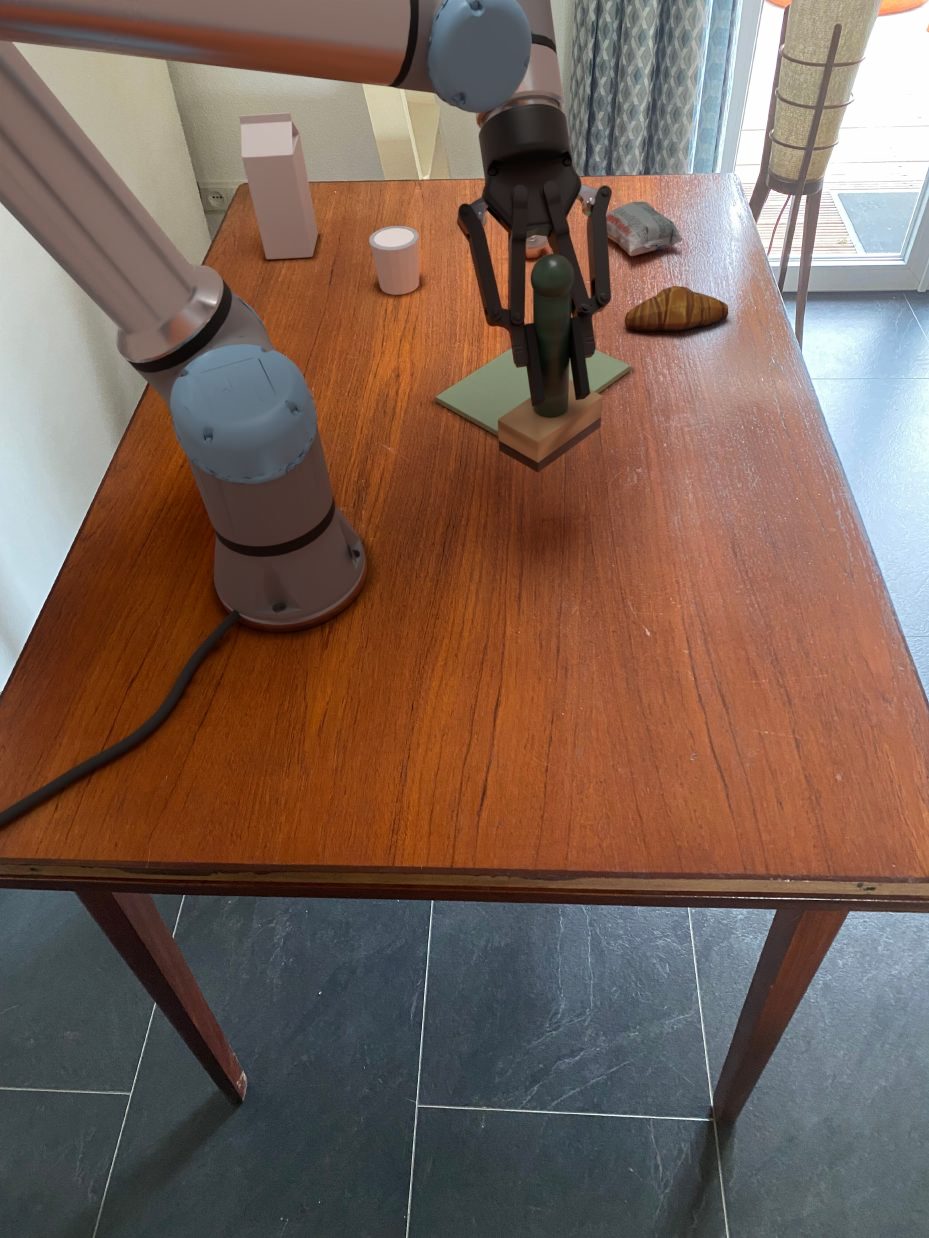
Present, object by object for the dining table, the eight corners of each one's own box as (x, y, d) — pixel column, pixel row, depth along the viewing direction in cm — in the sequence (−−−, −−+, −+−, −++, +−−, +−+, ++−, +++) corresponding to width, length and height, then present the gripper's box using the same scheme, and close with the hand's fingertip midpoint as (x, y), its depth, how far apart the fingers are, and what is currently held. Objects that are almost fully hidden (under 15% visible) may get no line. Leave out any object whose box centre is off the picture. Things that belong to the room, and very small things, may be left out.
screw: (553, 249, 133) (540, 264, 130) (522, 243, 134) (509, 259, 132) (554, 157, 123) (540, 172, 120) (521, 152, 125) (507, 167, 122)
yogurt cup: (432, 278, 130) (428, 231, 124) (405, 301, 126) (399, 253, 121) (394, 268, 132) (388, 221, 127) (366, 290, 129) (358, 242, 123)
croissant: (719, 305, 120) (725, 269, 117) (733, 332, 116) (740, 296, 112) (618, 315, 120) (621, 280, 117) (629, 343, 116) (632, 308, 112)
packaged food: (629, 270, 128) (632, 236, 124) (588, 235, 135) (590, 202, 131) (682, 255, 130) (686, 221, 126) (639, 221, 137) (642, 188, 133)
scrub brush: (537, 473, 83) (538, 290, 69) (498, 450, 86) (491, 269, 72) (601, 427, 87) (613, 244, 73) (561, 406, 89) (566, 226, 76)
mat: (520, 449, 103) (520, 444, 103) (435, 402, 110) (435, 396, 110) (630, 370, 112) (630, 365, 111) (544, 331, 119) (544, 325, 118)
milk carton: (313, 258, 136) (286, 123, 121) (266, 260, 136) (234, 126, 122) (318, 235, 140) (293, 102, 126) (273, 237, 141) (243, 105, 126)
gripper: (605, 130, 81) (641, 394, 83) (425, 153, 80) (465, 420, 82) (626, 87, 73) (664, 378, 75) (427, 112, 72) (471, 406, 74)
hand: (560, 399), depth 78 cm, fingers closed on scrub brush, 3 cm apart
